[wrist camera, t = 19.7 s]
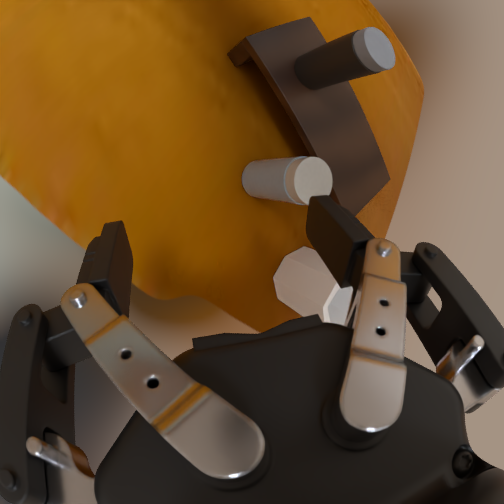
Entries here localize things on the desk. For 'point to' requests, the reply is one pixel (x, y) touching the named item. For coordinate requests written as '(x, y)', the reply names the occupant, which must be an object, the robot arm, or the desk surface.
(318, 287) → the mug
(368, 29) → the dark shaker
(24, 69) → the desk surface
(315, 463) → the robot arm
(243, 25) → the desk surface
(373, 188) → the desk shelf
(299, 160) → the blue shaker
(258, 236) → the desk surface
